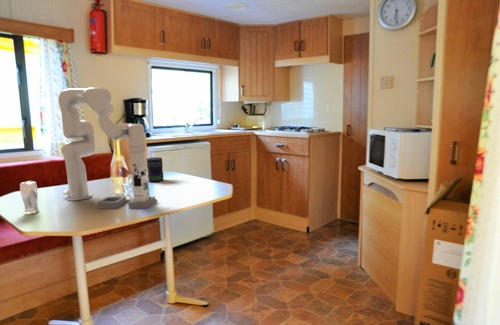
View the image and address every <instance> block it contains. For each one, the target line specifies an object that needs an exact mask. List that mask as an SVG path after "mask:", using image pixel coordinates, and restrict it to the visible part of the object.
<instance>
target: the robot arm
mask: <svg viewBox="0 0 500 325" xmlns="http://www.w3.org/2000/svg"><path fill="white" fill-rule="evenodd" d="M57 101H58V107H59V110H60V113H61V124H62V132H63V135H64V137H65V138H66V139H68V140H70V141H68V142H65V143H64V144H63V145H62V147H61V153H62V157H63V159H64V163H65V170H66V176H67V186H68V190H67V189H65V190H63V193H62V194H63V195H67V196H66V201H81V200H86V199H89V198H91V197H92V195H93V194H92V193H91V192H89V187H88V185H89V184H88V179H87V178H88V177H87V170H86V165H85V163H84V161H83V159H82V158H85V157H89V156H92V155H93V154H95V151H96V147H95V146H96V144H95V130H94V127H93V125H92V123H91V122H90V121H88V120H86V119H82V120H81V119H80V112H79V110H78V108H77V107H76V106H79V105H80V106H89V107H90V108H91V109H92V111H93V112H95V114H96V115H97V116H98V123H99V127H100V129H101V130H102V131H103V133H104V134H105V135H106V136H107V137H108V138H109V139H111V140H113V141H119V140H124V139H128V148H129V153H130V154H129V171H130V174H131V175H132V177H133V179H134V186H141V180H140V175H147V173H146V172H147V171H146V170H147V158H146V151H147V150H146V140H145V139H146V138H145V128H144V125H143V124H142V123H130V122H129V123H128V122H126V123H116V124H115V123H114V122H113V121H112V120H111V119H110V117H111V116H112V115H113V113H114V106H113V105H112V104H111V103H110V102H111V101H112V94H111V92H110V91H109V89H107V88H106V87H105V88H104V87H87V88H66V89H63V90H61V91H60V93H59V95H58V100H57ZM73 139H75V140H73ZM76 139H77V140H76ZM78 139H80V140H78Z"/></svg>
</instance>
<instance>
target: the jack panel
mask: <svg viewBox="0 0 500 325" xmlns="http://www.w3.org/2000/svg"><path fill="white" fill-rule="evenodd" d="M149 198H150V199H149V200H148V201H147V202H134V198H131V199H130V198H129V199H127V197H126V196H106V197H104V198H103V199H100V200H99V201H98V202H97V209H118V208H120V207H121V206H123V205H125V203H128V209H149V208H151V206H153V205H155V203H157V202H158V199H157V198H156V196H149Z"/></svg>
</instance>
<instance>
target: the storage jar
mask: <svg viewBox="0 0 500 325" xmlns="http://www.w3.org/2000/svg"><path fill="white" fill-rule="evenodd" d="M146 169H147V177H148V183H151V184H154V183H155V184H156V183H161V182H164V171H163V158H162V157H148V158H146Z"/></svg>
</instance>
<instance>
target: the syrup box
mask: <svg viewBox="0 0 500 325" xmlns="http://www.w3.org/2000/svg"><path fill="white" fill-rule="evenodd" d="M140 180H141V186H134V179H133V176H132V177H131V183H132V184H131V185H132V194H133V199H134V202H147V201H148V200H149V199H150V198H149V197H150V187H149V180H148V174H146V175H140Z"/></svg>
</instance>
